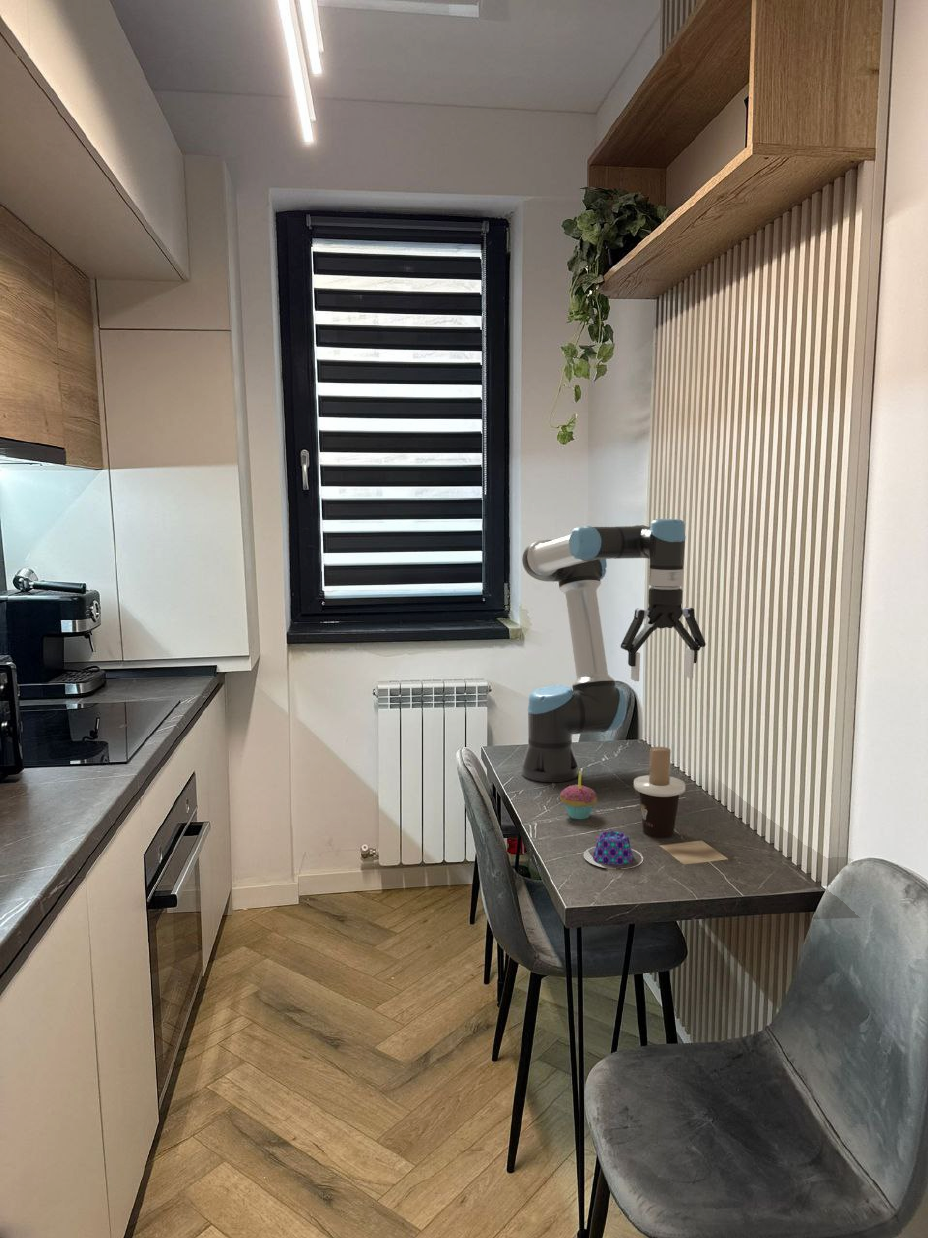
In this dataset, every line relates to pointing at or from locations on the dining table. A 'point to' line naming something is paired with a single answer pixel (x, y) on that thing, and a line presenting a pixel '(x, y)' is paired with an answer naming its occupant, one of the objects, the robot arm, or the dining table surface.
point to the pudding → (611, 850)
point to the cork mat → (693, 852)
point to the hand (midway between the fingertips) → (662, 678)
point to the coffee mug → (658, 815)
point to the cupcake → (578, 800)
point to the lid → (659, 776)
